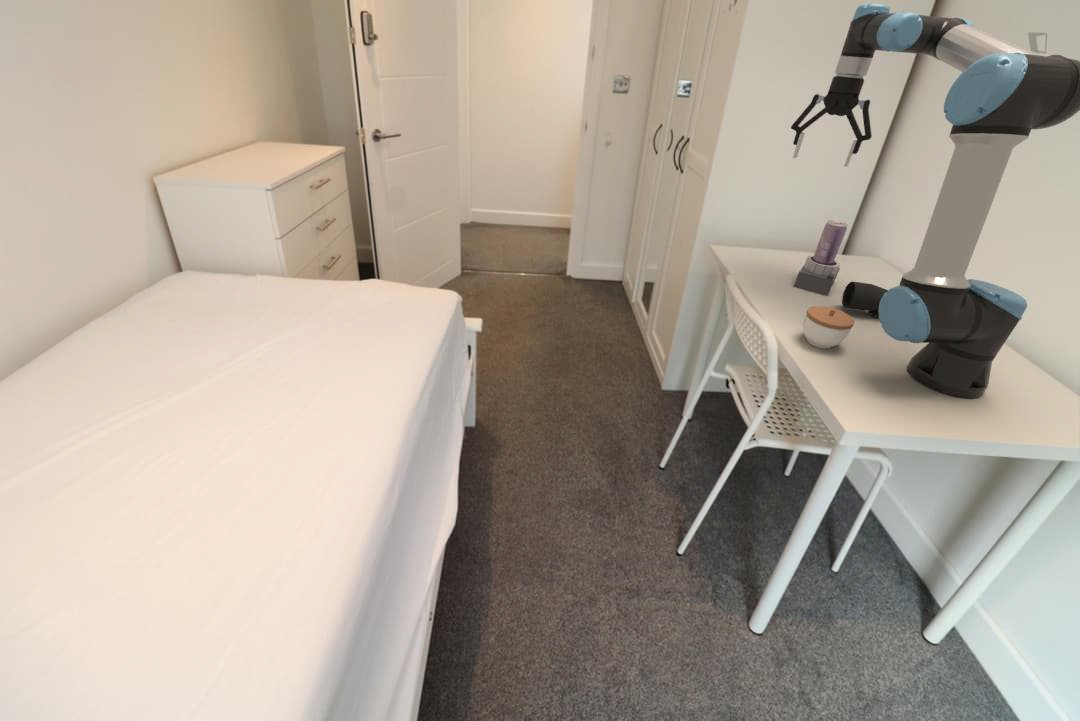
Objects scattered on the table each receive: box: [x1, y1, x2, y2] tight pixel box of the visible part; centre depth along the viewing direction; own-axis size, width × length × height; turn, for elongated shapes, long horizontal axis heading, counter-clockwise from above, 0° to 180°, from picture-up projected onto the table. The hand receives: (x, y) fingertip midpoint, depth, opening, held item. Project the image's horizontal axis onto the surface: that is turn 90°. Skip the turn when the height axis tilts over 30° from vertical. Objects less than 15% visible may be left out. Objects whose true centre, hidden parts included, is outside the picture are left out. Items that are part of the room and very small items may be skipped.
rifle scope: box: [841, 281, 889, 319], centre depth 143 cm, size 10×26×10 cm, turn 78°
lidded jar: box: [802, 305, 855, 349], centre depth 127 cm, size 11×11×9 cm
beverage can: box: [812, 219, 848, 266], centre depth 157 cm, size 6×6×15 cm
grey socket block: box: [793, 254, 841, 297], centre depth 161 cm, size 14×10×8 cm
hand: (819, 161), depth 144 cm, fingers open, 13 cm apart
